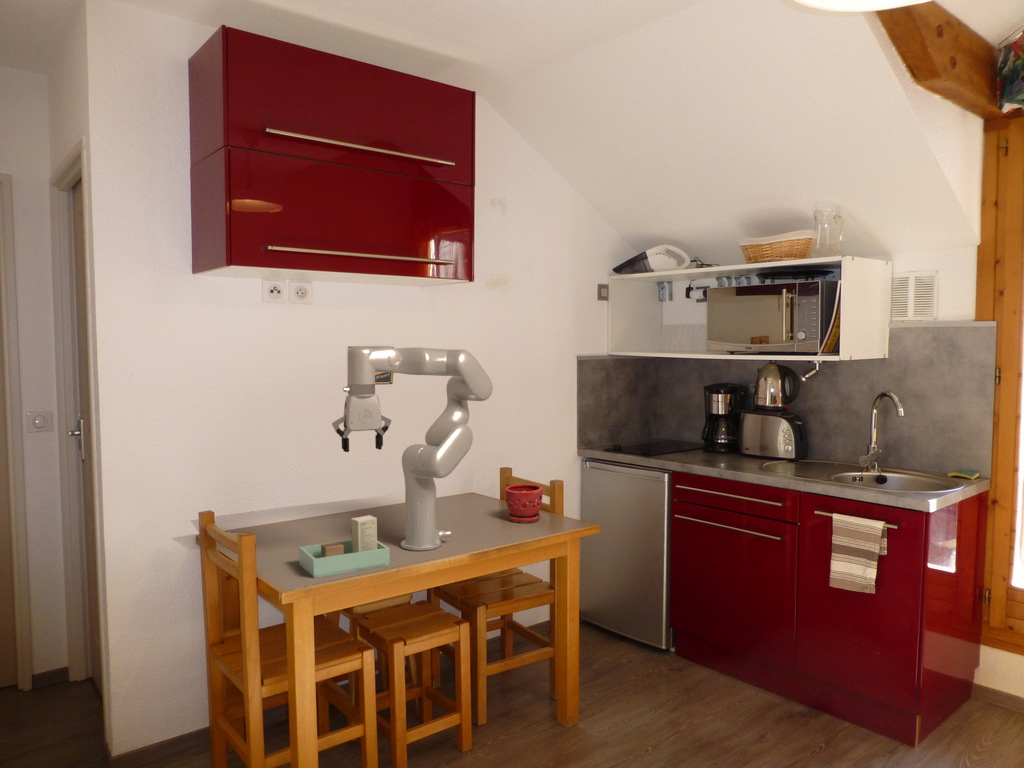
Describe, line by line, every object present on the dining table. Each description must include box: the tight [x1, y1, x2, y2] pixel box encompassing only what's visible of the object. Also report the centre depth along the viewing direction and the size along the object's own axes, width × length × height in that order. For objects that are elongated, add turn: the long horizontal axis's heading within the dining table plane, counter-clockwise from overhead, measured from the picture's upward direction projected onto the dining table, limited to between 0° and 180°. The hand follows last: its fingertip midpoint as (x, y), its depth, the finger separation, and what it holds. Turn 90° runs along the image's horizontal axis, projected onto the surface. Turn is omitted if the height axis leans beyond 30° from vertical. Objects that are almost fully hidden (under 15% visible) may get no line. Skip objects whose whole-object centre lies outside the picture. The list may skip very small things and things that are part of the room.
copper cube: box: [320, 541, 344, 558], centre depth 211 cm, size 5×5×5 cm
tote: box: [298, 539, 391, 579], centre depth 211 cm, size 22×15×5 cm
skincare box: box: [350, 514, 378, 553], centre depth 213 cm, size 6×4×12 cm
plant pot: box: [505, 483, 543, 524], centre depth 264 cm, size 13×13×12 cm
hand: (362, 450), depth 213 cm, fingers open, 9 cm apart
